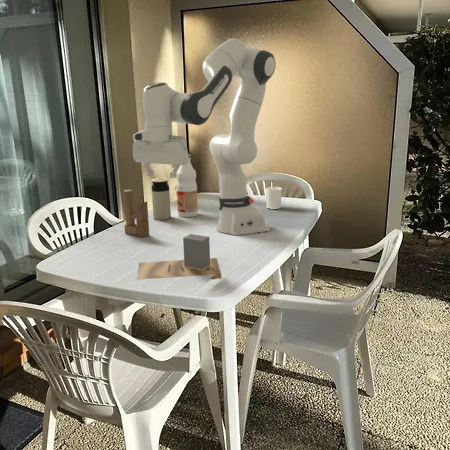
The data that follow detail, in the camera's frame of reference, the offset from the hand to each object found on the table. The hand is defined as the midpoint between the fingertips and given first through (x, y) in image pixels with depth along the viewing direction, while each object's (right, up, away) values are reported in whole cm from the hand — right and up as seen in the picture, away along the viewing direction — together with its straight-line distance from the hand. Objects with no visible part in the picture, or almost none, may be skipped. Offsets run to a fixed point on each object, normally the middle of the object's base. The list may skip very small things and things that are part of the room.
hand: (161, 176), depth 154 cm
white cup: (+45, -8, +71) cm, 85 cm away
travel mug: (-8, -13, +59) cm, 60 cm away
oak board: (+6, -31, -5) cm, 32 cm away
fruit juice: (+4, -12, +63) cm, 64 cm away
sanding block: (+12, -30, -4) cm, 32 cm away
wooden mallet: (-15, -20, +36) cm, 44 cm away
